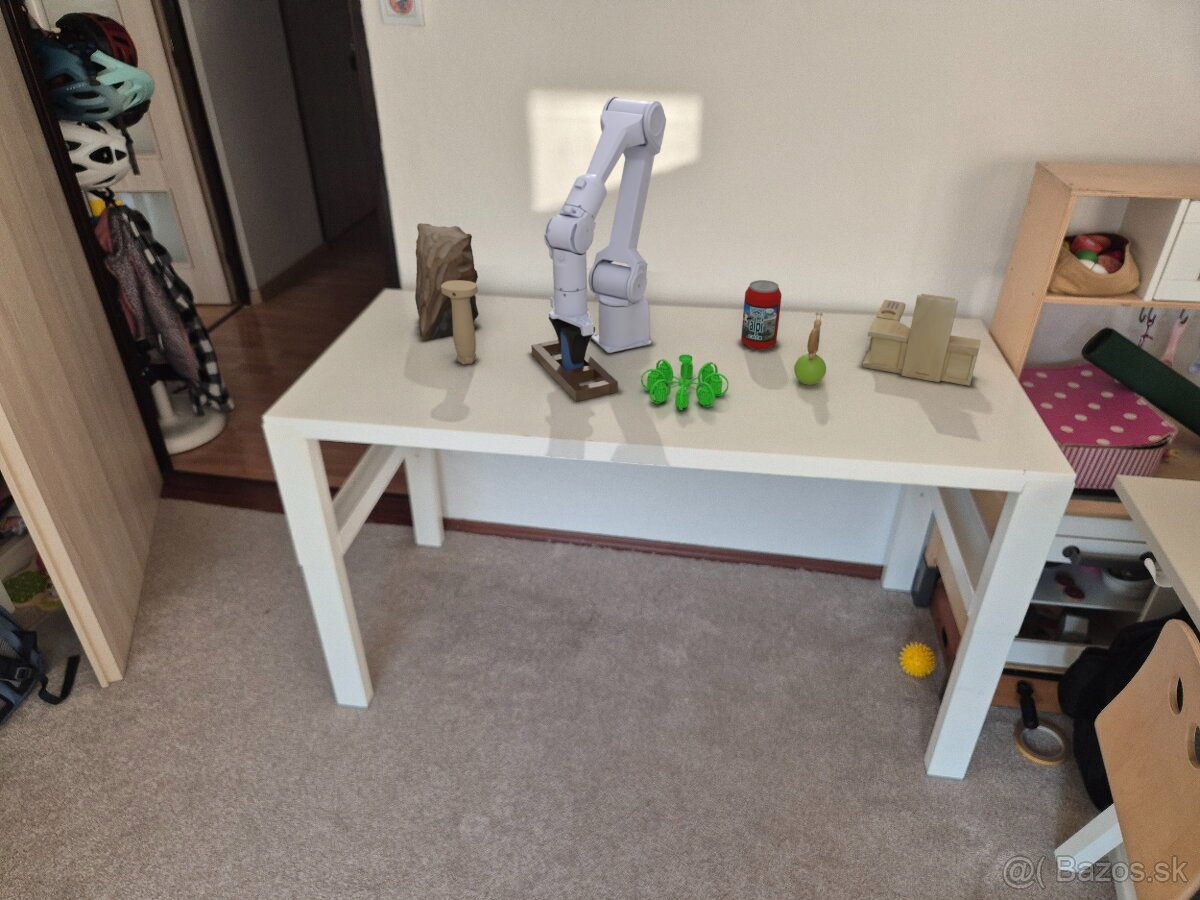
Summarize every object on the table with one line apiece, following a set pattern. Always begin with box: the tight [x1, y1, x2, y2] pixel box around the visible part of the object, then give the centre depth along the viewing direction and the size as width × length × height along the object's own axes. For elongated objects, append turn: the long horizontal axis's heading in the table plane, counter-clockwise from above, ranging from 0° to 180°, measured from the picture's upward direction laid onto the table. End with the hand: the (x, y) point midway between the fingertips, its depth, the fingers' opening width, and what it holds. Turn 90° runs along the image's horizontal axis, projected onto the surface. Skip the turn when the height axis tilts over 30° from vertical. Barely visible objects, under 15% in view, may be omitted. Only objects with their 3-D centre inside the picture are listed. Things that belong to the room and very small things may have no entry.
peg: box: [560, 331, 584, 371], centre depth 150 cm, size 4×4×8 cm
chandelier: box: [640, 353, 729, 411], centre depth 143 cm, size 15×15×7 cm
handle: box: [441, 280, 479, 366], centre depth 153 cm, size 5×6×15 cm
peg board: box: [530, 339, 619, 403], centre depth 152 cm, size 8×21×2 cm, turn 25°
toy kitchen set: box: [862, 293, 982, 386], centre depth 151 cm, size 18×17×15 cm
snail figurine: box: [793, 311, 827, 386], centre depth 145 cm, size 5×6×12 cm
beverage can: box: [740, 279, 782, 351], centre depth 159 cm, size 7×7×12 cm
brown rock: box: [414, 222, 480, 342], centre depth 165 cm, size 13×13×20 cm
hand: (572, 357), depth 151 cm, fingers closed on peg, 4 cm apart
